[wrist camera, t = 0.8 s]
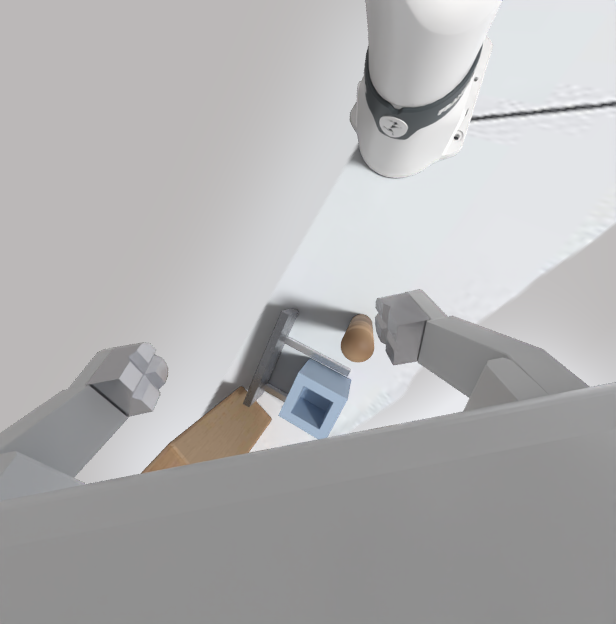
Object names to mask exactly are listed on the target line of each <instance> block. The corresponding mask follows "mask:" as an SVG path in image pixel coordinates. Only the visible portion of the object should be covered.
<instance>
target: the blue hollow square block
mask: <svg viewBox="0 0 616 624" xmlns="http://www.w3.org/2000/svg"><path fill="white" fill-rule="evenodd" d="M350 384H351V380H350V379H349V378H347V377H345V376H343V375H341V374H339V373H337V372H335V371H333V370H332V369H330V368H328V367H326V366H324V365H322V364H320V363H318V362H317V361H315V360H313V359H311V358H310V359H309V360H308V361H307V362H306V364H305V365H304V366H303V367H302V369H301V370H300V371H299V372H298V375H297V377H296V379H295V381H294V383H293V385H292V387H291V390H290V392H289V394H288V396H287V398H286V400H285V402H284V405H283V407H282V409H281V411H280V413H279V415H278V416H280V417H282V418H283V419H285V420H287V421H288V422H290V423H292V424H293V425H295V426H297V427H299V428H300V429H302V430H304V431H305V432H307V433H309V434H310V435H312V436H314V437H315V438H317V439H323V438H327V437H328V435H329V433H330V431H331V430H332V428H333V426H334V424H335V422H336V420H337V418H338V416H339V415H340V413H341V411H342V409H343V407H344V405H345V403H346V401H347V400H348V394H349V389H350Z"/></svg>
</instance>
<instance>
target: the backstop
mask: <svg viewBox="0 0 616 624" xmlns="http://www.w3.org/2000/svg"><path fill="white" fill-rule="evenodd" d="M298 312H299V311H297V310H295V309H293V308H290V309H287V310H284V311H282V312H281V314H280V316H279V319H278V321H277V323H276V326H275V328H274V330H273V333H272V335H271V338H270V340H269V342H268V345H267V347H266V349H265V352H264V354H263V357H262V359H261V361H260V364H259V366H258V368H257V371H256V373H255V376H254V378H253V380H252V383H251V385H250V387H249V390H248V392H247V394H246V397H245V399H244V402H243V404H244V405H245V406H247V407H250V406H251V405H252V404H253V403H254V402H255V401H256V400H257V399H258V398H259V397H260V396H261V395H262V394H263V392H264V391H266V392H268V393H270V394H271V395H273V396H275V397H277V398H278V399H280V400H282V401H283V402H285V400H286V398H287V396H288V394H286V393H285V392H283V391H281V390H279V389H278V388H276V387H274V386H272V385H271V384H269V383H268V380H269V378H270V376H271V373H272V371H273V369H274V367H275V364H276V362H277V360H278V358H279V355H280V353H281V351H282V348H283V346H284V344H287V345H289V346H291V347H293V348H295V349H296V350H298V351H300V352H302V353H304V354H306V355H308V356H310V357H311V358H313V359H315V360H317V361H319V362H321V363H323V364H325V365H327V366H328V367H330V368H332V369H334V370H336V371H338V372H340V373H342V374H344V375H345V376H348V374H349V373H350V370H351V369H350V368H348V367H346V366H344V365H342V364H340V363H338V362H336V361H334V360H332V359H330V358H329V357H327V356H325V355H323V354H321V353H319V352H317V351H315V350H313V349H311V348H309V347H308V346H306V345H304V344H302V343H300V342H298V341H296V340H294V339H292V338H290V337H288V335H289V332H290V330H291V328H292V326H293V323H294V321H295V319H296V317H297V314H298Z"/></svg>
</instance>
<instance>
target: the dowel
mask: <svg viewBox="0 0 616 624" xmlns="http://www.w3.org/2000/svg"><path fill="white" fill-rule="evenodd" d="M341 350H342V353H343V354H344V356H345V357H346V358H347V359H349V360H351V361H353V362H363V361H366V360H367V359H369V358H370V357H371V356H372V354H373V351H374V339H373V327H372V321H371V319H370V318H369V317H368V316H366V315H364V314H359V315H356V316H354V317H353V318H352V320H351V322H350V324H349V326H348V328H347V330H346V332H345V334H344V337H343V339H342V341H341Z"/></svg>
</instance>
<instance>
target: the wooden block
mask: <svg viewBox="0 0 616 624" xmlns="http://www.w3.org/2000/svg"><path fill="white" fill-rule="evenodd" d="M246 394H247V391H246V390H245V389H244V387H242V386H241V387H239V388H238V389H237V390H235V391H234V392H233V393H232V394H230V395H229V396H228V397H227V398H225V399H224V400H223V401H222V402H220V403H219V404H218V405H217V406H215V407H214V408H213V409H212V410H210V411H209V412H208V413H207V414H205V415H204V416H203V417H202V418H200V419H199V420H198V421H196V422H195V423H194V424H193V425H192V426H190V427H189V428H188V429H187V430H185V431H184V432H183V433H182V434H180V435H179V436H178V437H176V438H175V439H174V440H173V441H171V442H170V443H169V444H168V445H167V446H166V447H165V448H164V449H163V450H162V451H161V453H160V454H159V455H158V456H157V457H156V458H155V459H154V460H153V461H152V462H151V463H150V464H149V465H148V466H147V467H146V468H145V470H144V471H143V472H142V473H147V472H152V471H158V470H163V469H168V468H173V467H178V466H183V465H189V464H194V463H199V462H204V461H209V460H214V459H220V458H225V457H230V456H235V455H240V454H245V453H249V451H250V450H251V449H252V447H253V446H254V444H255V443H256V442H257V440H258V439H259V437H260V436H261V435H262V433H263V432H264V430H265V429H266V428H267V426H268V425H269V423H270V422H271V420H272V419H271V417H270V416H269V415H268V414H267V413H266V412H265V411H264V410H263V408H262V407H261V406H260V405H259V404H258V403H257V402H256V401H255V402H254V403H253V404H252V405H251V406H250V407H247V406H245V405H244V404H243V402H244V399H245V397H246ZM142 473H141V474H142Z"/></svg>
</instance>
